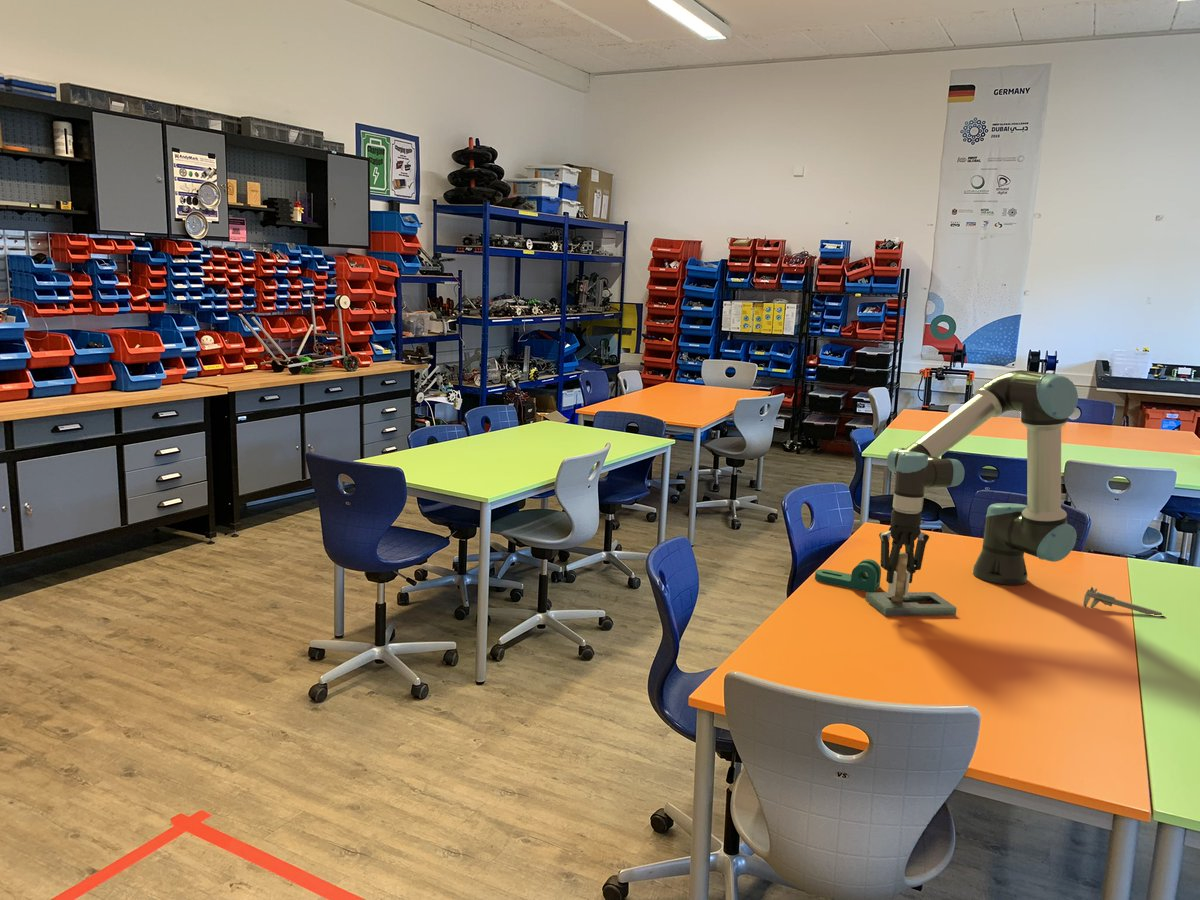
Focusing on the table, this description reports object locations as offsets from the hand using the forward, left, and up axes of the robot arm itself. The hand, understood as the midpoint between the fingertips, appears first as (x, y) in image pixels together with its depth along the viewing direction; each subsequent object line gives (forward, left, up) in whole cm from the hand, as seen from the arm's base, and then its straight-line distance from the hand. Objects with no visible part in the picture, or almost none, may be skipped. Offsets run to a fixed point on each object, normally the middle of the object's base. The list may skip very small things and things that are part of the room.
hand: (897, 594), depth 237 cm
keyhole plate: (-4, 0, -4) cm, 5 cm away
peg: (0, 0, -4) cm, 4 cm away
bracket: (+6, -20, -4) cm, 21 cm away
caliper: (-65, +4, -4) cm, 65 cm away
